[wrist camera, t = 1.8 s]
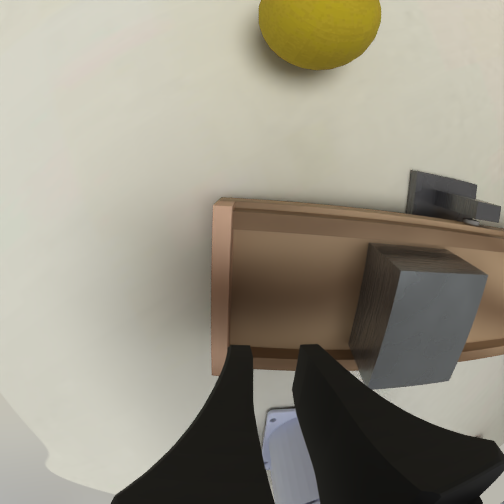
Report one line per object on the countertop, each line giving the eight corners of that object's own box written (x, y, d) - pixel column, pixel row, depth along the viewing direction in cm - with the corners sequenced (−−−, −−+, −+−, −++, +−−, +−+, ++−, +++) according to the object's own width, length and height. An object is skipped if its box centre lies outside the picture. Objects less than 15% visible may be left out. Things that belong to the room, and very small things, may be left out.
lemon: (334, 8, 14) (389, -55, 6) (349, 84, 16) (425, 47, 8) (246, 7, 14) (259, -72, 6) (258, 87, 15) (283, 35, 8)
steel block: (420, 341, 16) (448, 380, 12) (348, 344, 16) (366, 389, 13) (446, 249, 14) (488, 275, 11) (368, 242, 15) (401, 270, 11)
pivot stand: (431, 347, 22) (461, 380, 17) (373, 354, 22) (400, 395, 17) (470, 183, 18) (517, 194, 13) (410, 170, 17) (459, 178, 13)
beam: (518, 336, 18) (538, 354, 15) (219, 344, 19) (211, 378, 16) (549, 234, 15) (575, 246, 12) (223, 192, 16) (213, 200, 13)
